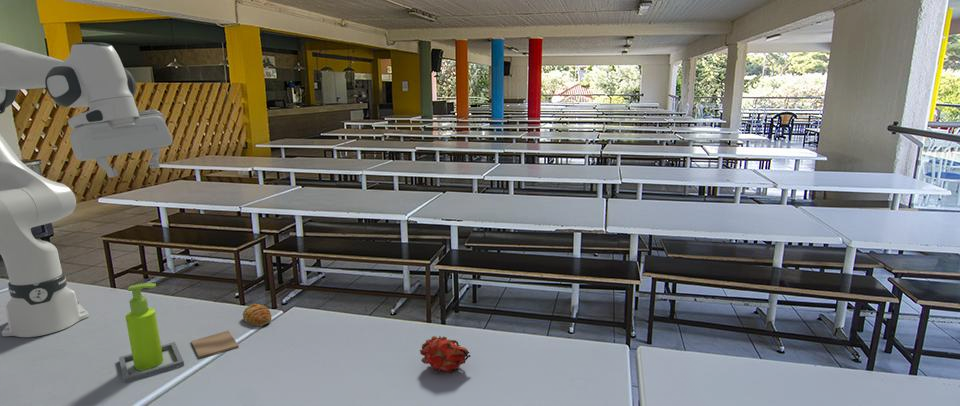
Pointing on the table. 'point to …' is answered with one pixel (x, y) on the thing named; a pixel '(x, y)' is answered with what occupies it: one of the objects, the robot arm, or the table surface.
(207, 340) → the walnut pad
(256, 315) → the pastry
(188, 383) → the table surface
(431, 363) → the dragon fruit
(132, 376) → the slate frame
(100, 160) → the robot arm
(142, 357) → the soap dispenser
